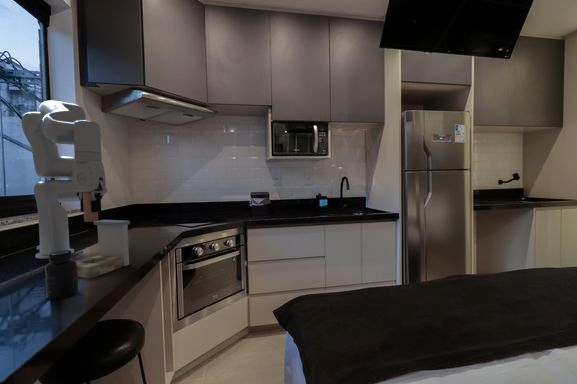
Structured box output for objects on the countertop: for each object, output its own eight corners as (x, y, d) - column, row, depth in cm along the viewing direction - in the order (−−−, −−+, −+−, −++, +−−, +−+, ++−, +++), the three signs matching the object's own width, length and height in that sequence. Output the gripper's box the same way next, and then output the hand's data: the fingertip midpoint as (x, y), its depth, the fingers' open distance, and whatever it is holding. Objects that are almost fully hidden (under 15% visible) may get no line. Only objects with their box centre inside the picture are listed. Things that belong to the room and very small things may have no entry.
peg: (81, 221, 96) (79, 186, 95) (92, 219, 99) (90, 185, 99) (90, 221, 95) (88, 186, 94) (101, 220, 98) (99, 185, 98)
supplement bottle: (67, 289, 82) (64, 248, 81) (84, 291, 80) (82, 249, 79) (40, 298, 75) (37, 254, 75) (58, 301, 74) (56, 256, 73)
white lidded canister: (95, 264, 105) (93, 221, 104) (106, 261, 109) (104, 219, 109) (121, 267, 102) (119, 222, 101) (131, 263, 106) (129, 220, 105)
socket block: (63, 275, 94) (62, 264, 94) (96, 264, 106) (96, 255, 105) (90, 278, 91) (90, 267, 90) (122, 266, 102) (121, 257, 102)
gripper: (58, 158, 95) (61, 212, 96) (97, 156, 90) (99, 213, 91) (80, 159, 102) (83, 210, 103) (117, 158, 97) (119, 211, 98)
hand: (91, 211), depth 97 cm, fingers closed on peg, 4 cm apart
